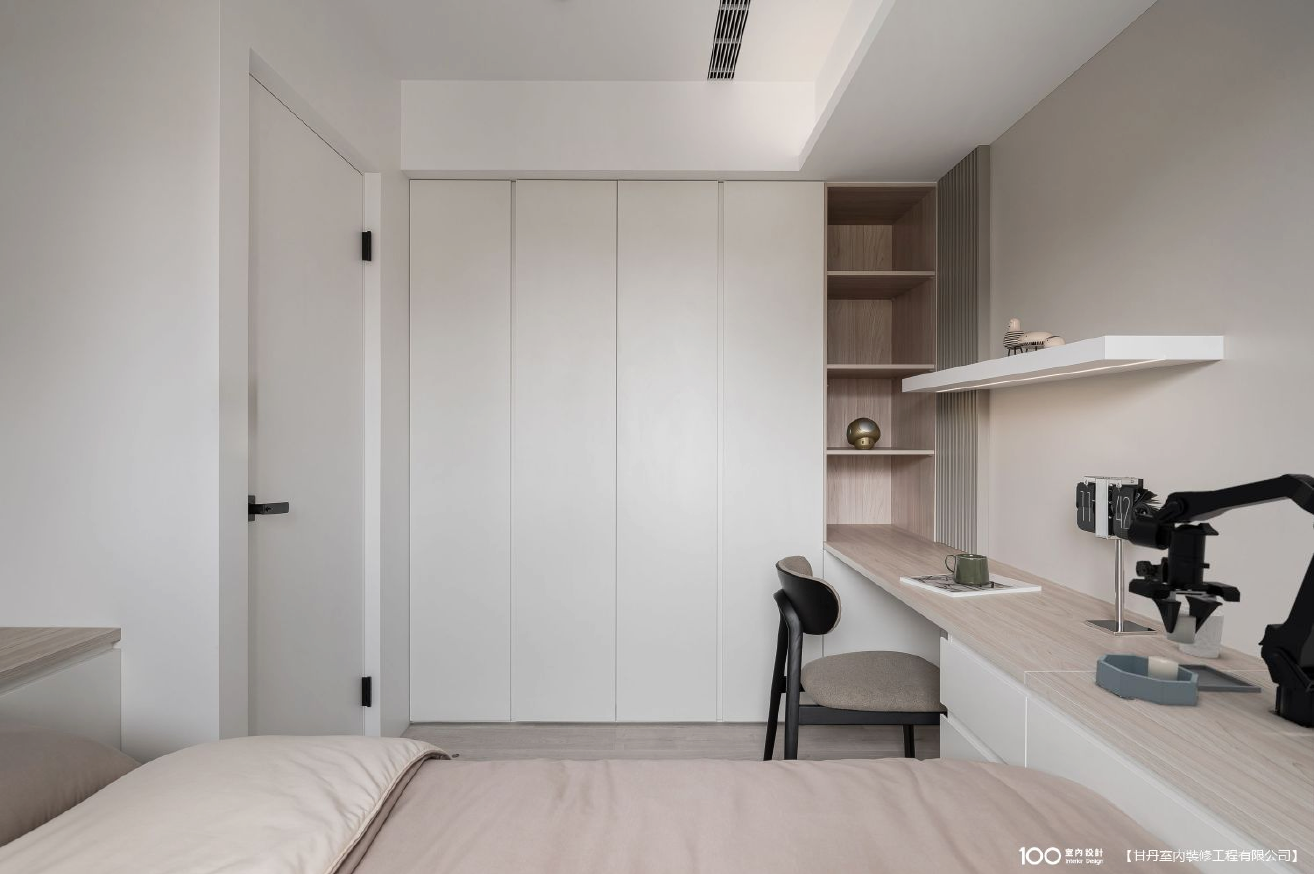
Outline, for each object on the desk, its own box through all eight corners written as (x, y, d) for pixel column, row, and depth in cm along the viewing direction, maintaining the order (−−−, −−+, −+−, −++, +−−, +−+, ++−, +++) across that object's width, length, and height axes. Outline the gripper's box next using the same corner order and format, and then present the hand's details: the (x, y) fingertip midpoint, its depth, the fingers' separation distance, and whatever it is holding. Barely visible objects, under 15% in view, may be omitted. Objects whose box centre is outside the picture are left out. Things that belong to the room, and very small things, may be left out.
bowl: (1218, 709, 117) (1220, 683, 117) (1137, 706, 116) (1139, 681, 116) (1152, 677, 131) (1153, 654, 131) (1080, 675, 131) (1081, 652, 131)
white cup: (1229, 663, 143) (1232, 617, 142) (1188, 659, 144) (1190, 613, 144) (1207, 651, 150) (1210, 607, 150) (1167, 647, 152) (1170, 604, 152)
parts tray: (1260, 695, 124) (1261, 687, 124) (1194, 693, 124) (1194, 685, 124) (1204, 671, 136) (1205, 664, 136) (1143, 669, 136) (1144, 662, 136)
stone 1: (1160, 690, 122) (1161, 663, 121) (1141, 681, 126) (1142, 655, 126) (1183, 691, 122) (1184, 664, 122) (1163, 682, 126) (1165, 655, 126)
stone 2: (1200, 644, 130) (1202, 618, 130) (1178, 643, 130) (1180, 618, 130) (1181, 637, 135) (1183, 612, 135) (1160, 636, 135) (1162, 611, 135)
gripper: (1196, 549, 141) (1191, 622, 141) (1110, 545, 140) (1106, 619, 140) (1245, 560, 130) (1240, 639, 130) (1153, 556, 129) (1148, 636, 129)
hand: (1180, 633), depth 132 cm, fingers closed on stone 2, 4 cm apart
